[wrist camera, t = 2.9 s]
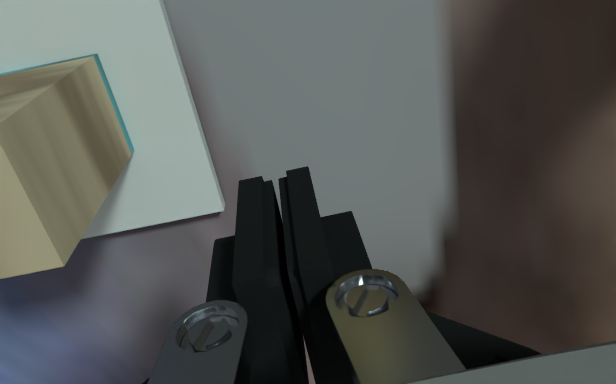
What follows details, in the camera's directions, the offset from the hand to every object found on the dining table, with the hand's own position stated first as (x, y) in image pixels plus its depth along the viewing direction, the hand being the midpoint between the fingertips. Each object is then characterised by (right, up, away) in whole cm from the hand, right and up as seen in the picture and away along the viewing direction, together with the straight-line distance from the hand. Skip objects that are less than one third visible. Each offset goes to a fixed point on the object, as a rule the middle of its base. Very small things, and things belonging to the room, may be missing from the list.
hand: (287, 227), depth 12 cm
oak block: (-11, +5, +12) cm, 17 cm away
